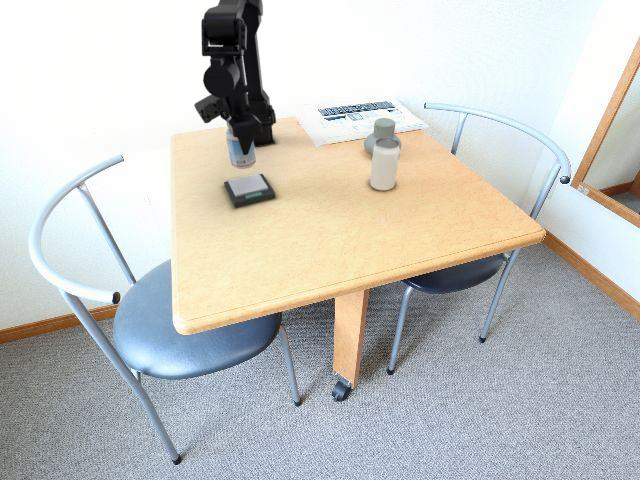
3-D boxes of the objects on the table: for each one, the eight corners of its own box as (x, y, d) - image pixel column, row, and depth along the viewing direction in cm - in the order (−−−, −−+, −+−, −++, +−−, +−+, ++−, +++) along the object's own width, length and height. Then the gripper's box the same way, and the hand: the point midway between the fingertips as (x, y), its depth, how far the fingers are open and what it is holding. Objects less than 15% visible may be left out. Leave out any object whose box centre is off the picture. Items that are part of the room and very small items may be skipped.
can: (396, 180, 99) (402, 138, 91) (392, 193, 94) (398, 150, 86) (372, 176, 100) (377, 135, 92) (367, 189, 96) (371, 146, 88)
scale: (263, 178, 100) (262, 171, 98) (275, 198, 92) (275, 190, 91) (224, 187, 96) (223, 179, 95) (234, 208, 89) (233, 200, 88)
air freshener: (392, 145, 114) (397, 114, 108) (403, 157, 108) (409, 125, 102) (359, 149, 112) (361, 118, 106) (369, 162, 106) (372, 129, 100)
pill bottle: (260, 160, 91) (255, 116, 84) (247, 172, 87) (240, 126, 80) (240, 155, 93) (233, 112, 86) (226, 166, 89) (217, 122, 82)
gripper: (185, 73, 81) (200, 139, 92) (201, 101, 68) (216, 174, 79) (234, 67, 85) (244, 131, 95) (258, 92, 72) (266, 163, 82)
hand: (242, 148), depth 88 cm, fingers closed on pill bottle, 6 cm apart
